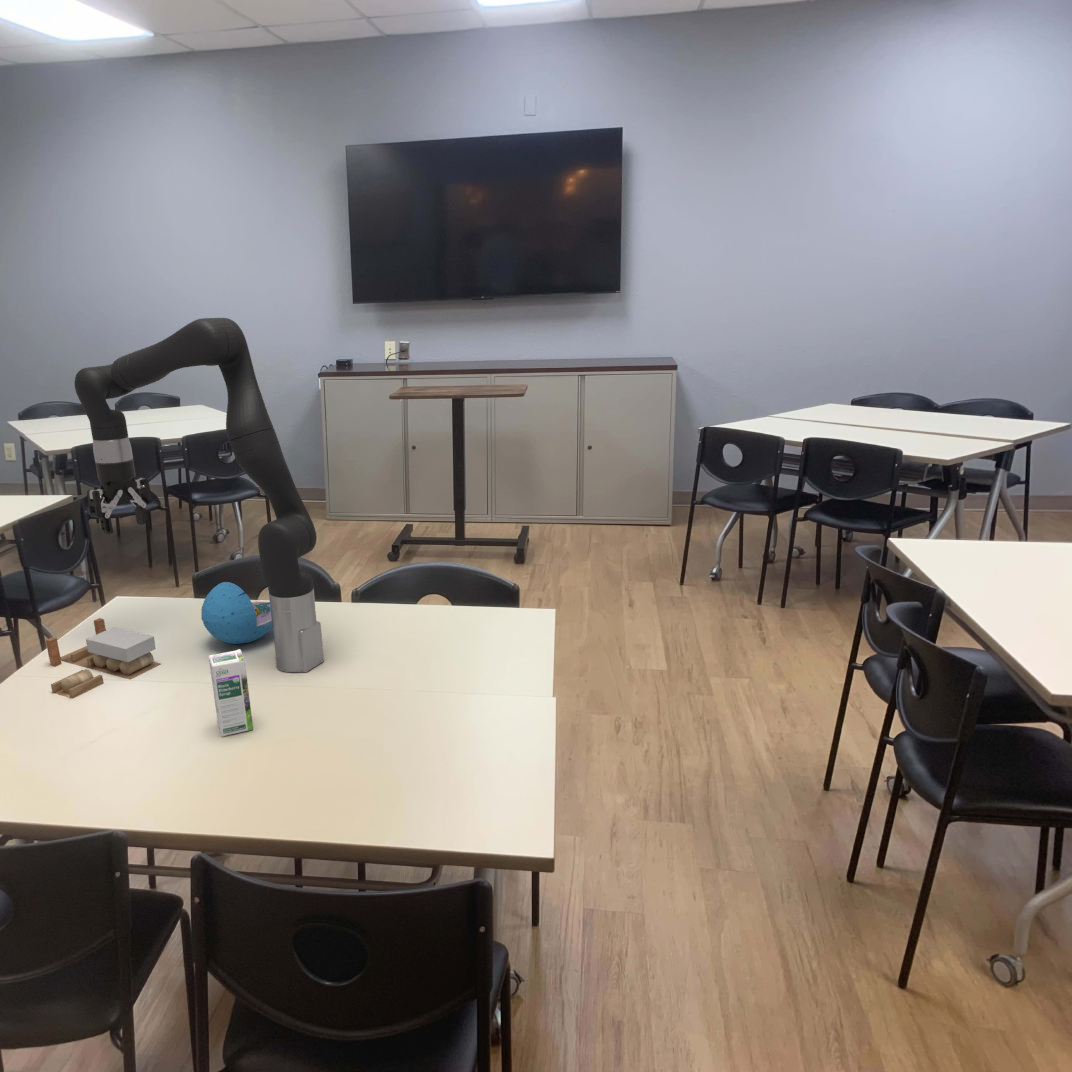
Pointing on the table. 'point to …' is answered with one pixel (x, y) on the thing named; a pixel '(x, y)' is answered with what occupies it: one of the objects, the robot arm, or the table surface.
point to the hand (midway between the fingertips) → (125, 528)
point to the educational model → (235, 615)
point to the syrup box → (231, 692)
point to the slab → (120, 644)
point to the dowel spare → (76, 680)
